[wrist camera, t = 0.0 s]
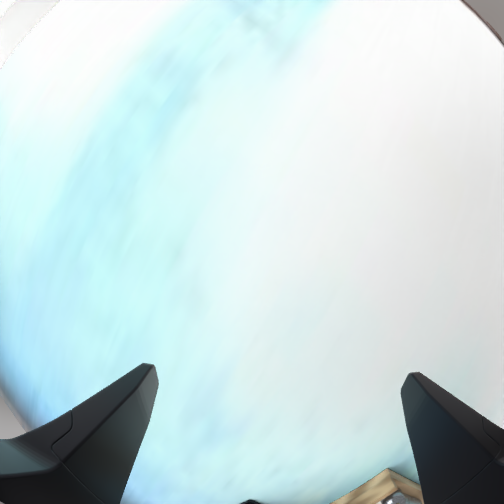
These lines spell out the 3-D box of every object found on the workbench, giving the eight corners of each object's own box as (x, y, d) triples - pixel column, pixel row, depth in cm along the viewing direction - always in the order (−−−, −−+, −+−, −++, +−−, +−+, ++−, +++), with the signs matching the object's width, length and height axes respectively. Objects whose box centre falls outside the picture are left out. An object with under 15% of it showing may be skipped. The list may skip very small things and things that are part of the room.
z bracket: (84, -10, 26) (83, -19, 21) (-3, 88, 28) (-14, 89, 24) (52, -34, 17) (49, -44, 13) (-33, 63, 19) (-45, 63, 15)
